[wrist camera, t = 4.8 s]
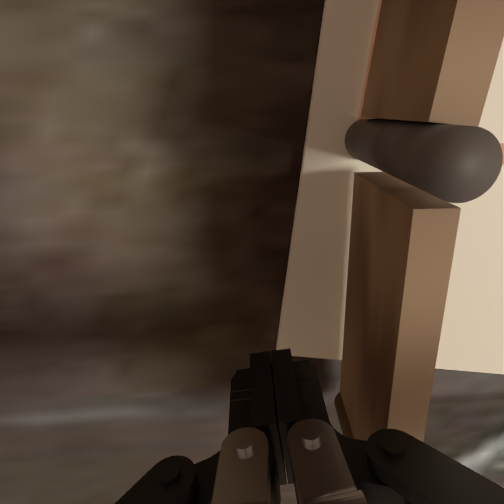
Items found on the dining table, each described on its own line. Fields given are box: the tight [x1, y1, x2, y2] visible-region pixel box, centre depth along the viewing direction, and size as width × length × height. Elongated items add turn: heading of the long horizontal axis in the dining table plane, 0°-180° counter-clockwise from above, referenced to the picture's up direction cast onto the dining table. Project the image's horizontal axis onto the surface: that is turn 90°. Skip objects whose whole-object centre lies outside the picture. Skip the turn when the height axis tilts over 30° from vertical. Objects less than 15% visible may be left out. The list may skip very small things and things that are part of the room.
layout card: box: [276, 0, 504, 374], centre depth 13 cm, size 21×12×1 cm, turn 174°
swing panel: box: [334, 172, 461, 442], centre depth 12 cm, size 10×1×6 cm, turn 1°
